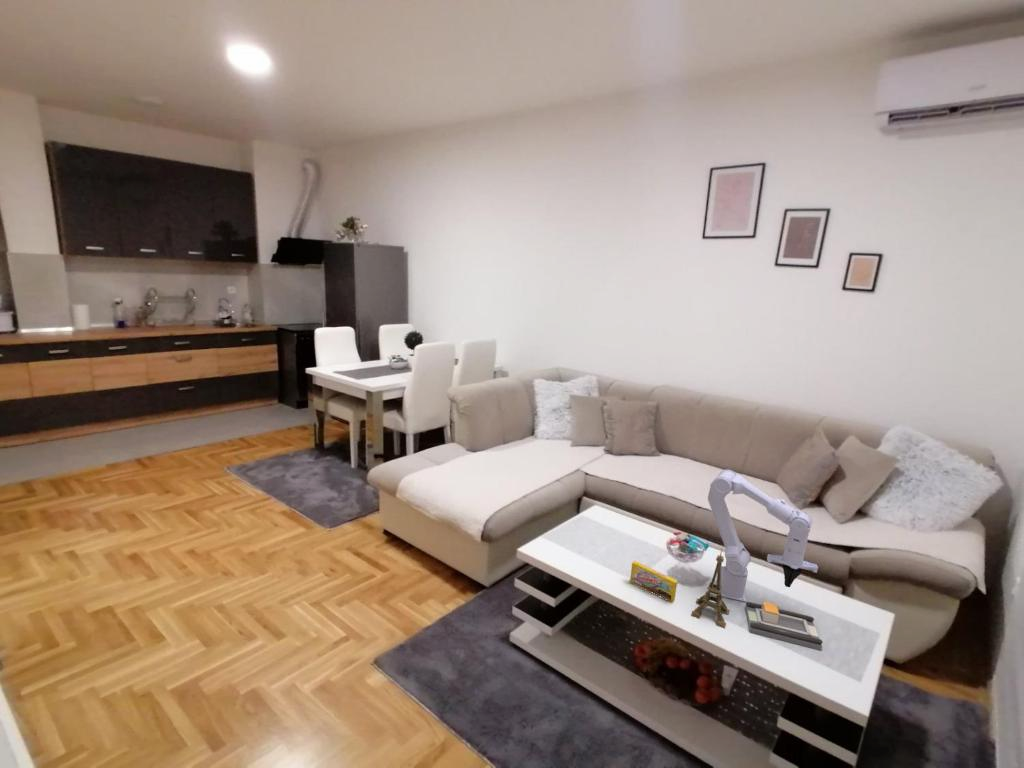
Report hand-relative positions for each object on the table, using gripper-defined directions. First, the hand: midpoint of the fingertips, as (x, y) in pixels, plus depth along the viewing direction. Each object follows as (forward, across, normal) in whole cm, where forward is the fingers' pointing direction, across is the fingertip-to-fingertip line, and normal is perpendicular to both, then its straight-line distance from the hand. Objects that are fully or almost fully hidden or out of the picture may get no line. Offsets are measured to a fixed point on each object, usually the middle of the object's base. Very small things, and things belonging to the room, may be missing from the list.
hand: (787, 585), depth 169 cm
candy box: (+11, -42, -7) cm, 44 cm away
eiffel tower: (+11, -23, -11) cm, 27 cm away
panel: (+10, -1, -9) cm, 14 cm away
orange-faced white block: (+8, -5, -9) cm, 13 cm away
